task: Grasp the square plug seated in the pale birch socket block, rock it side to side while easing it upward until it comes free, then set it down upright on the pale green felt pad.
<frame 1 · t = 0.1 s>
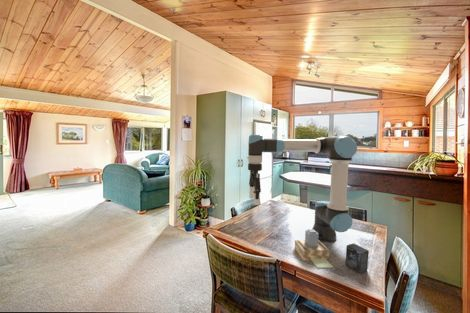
hand: (254, 201, 121), 28 cm above the table, fingers open, 13 cm apart
socket block: (310, 253, 120), on the table
felt pad: (321, 263, 110), on the table
plug: (311, 242, 119), in the socket block
box: (356, 268, 107), on the table
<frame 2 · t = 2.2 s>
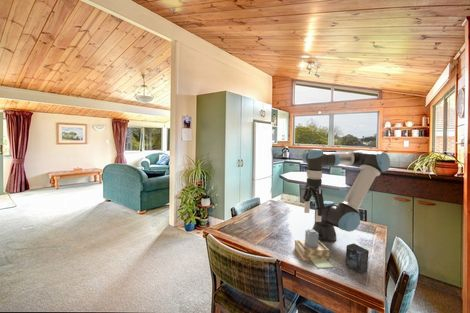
hand: (312, 216, 118), 21 cm above the table, fingers open, 13 cm apart
nothing on the table moved.
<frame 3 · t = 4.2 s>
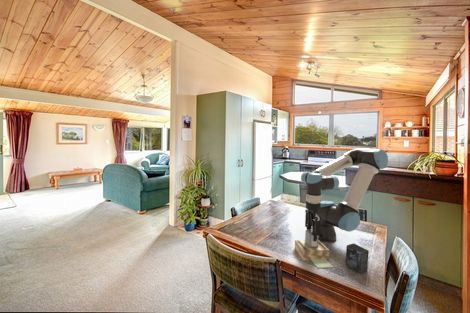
hand: (311, 243, 119), 6 cm above the table, fingers closed on plug, 5 cm apart
plug: (311, 242, 119), in the socket block, touching gripper
everything else where it was.
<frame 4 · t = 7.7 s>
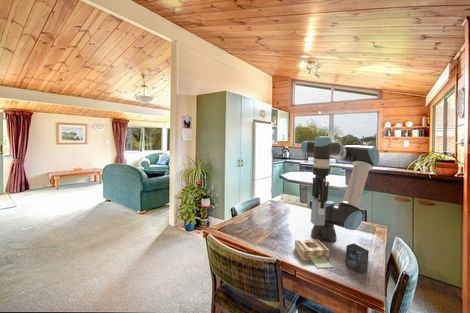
hand: (318, 212, 111), 25 cm above the table, fingers closed on plug, 5 cm apart
plug: (318, 211, 111), point 26 cm above the table, touching gripper
everything else where it was.
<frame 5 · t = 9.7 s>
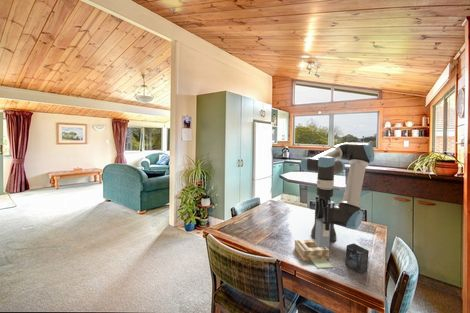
hand: (322, 233, 109), 16 cm above the table, fingers closed on plug, 5 cm apart
plug: (322, 232, 109), point 16 cm above the table, touching gripper
everything else where it was.
when the fingers open (7 cm above the table, at t = 11.5 s): plug stays where it is, resting on felt pad.
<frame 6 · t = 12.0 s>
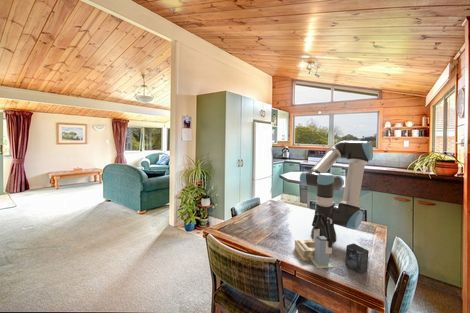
hand: (322, 246, 110), 9 cm above the table, fingers open, 11 cm apart
plug: (321, 250, 110), on the felt pad
everything else where it was.
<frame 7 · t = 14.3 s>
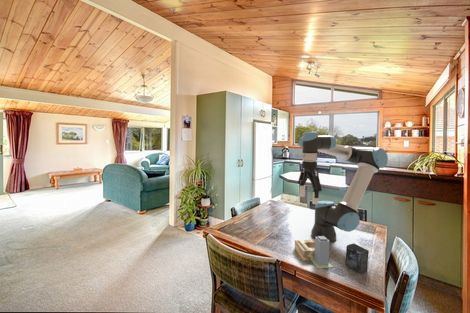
hand: (308, 200, 117), 30 cm above the table, fingers open, 13 cm apart
nothing on the table moved.
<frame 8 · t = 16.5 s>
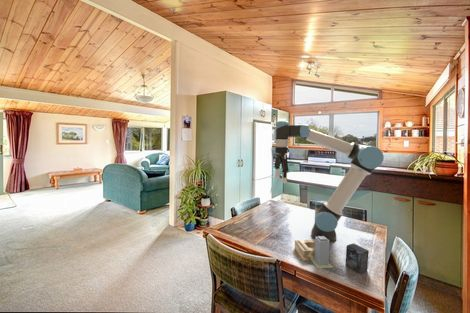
hand: (280, 180, 135), 37 cm above the table, fingers open, 13 cm apart
nothing on the table moved.
at the end: plug inside the target area on the felt pad (0.1 cm from its centre), point 6.9 cm above the felt pad's base; plug tilted 0°; plug touching felt pad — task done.
